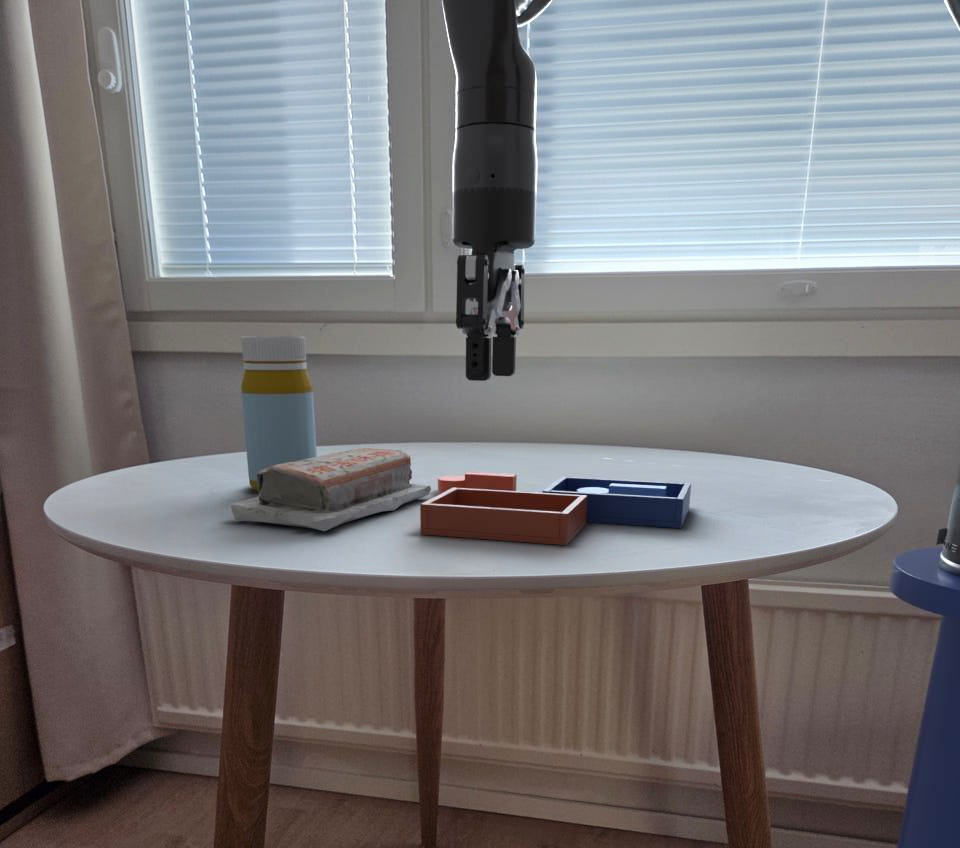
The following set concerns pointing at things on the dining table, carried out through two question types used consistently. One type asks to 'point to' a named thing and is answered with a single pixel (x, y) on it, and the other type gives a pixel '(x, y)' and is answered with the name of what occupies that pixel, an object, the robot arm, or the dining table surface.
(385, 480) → the packaged product
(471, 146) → the robot arm
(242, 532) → the dining table surface
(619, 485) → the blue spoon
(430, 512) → the terracotta tray
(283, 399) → the bottle
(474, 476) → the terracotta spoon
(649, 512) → the blue tray
